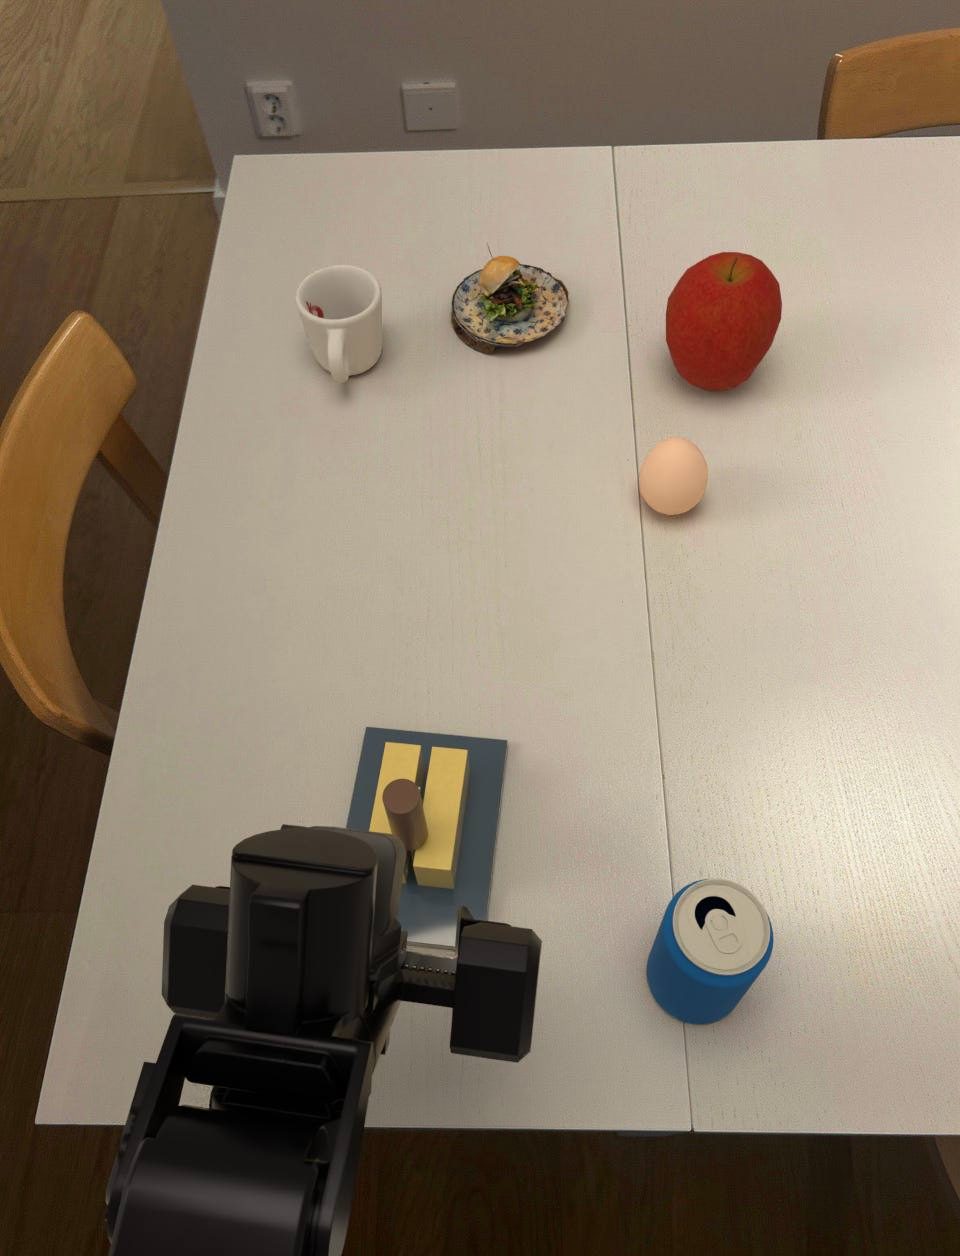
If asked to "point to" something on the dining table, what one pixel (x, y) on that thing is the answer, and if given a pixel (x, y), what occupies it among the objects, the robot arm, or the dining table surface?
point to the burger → (507, 304)
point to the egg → (673, 476)
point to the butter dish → (477, 835)
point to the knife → (406, 813)
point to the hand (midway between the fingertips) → (385, 903)
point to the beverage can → (708, 950)
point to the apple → (722, 319)
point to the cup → (342, 318)
